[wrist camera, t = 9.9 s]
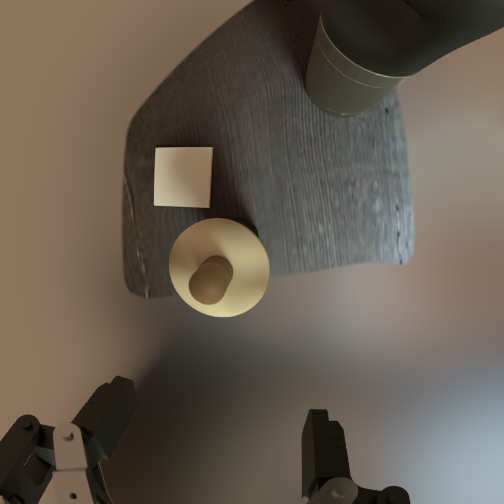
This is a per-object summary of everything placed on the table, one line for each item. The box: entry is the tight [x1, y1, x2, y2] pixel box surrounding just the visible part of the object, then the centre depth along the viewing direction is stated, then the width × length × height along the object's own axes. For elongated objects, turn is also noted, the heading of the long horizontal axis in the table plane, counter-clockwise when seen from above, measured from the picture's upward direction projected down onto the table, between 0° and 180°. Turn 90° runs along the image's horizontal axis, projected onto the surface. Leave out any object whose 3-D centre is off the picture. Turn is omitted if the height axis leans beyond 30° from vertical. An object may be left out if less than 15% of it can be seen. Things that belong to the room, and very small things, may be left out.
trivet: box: [154, 147, 213, 208], centre depth 36 cm, size 8×8×1 cm
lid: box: [169, 218, 270, 317], centre depth 25 cm, size 10×10×5 cm
